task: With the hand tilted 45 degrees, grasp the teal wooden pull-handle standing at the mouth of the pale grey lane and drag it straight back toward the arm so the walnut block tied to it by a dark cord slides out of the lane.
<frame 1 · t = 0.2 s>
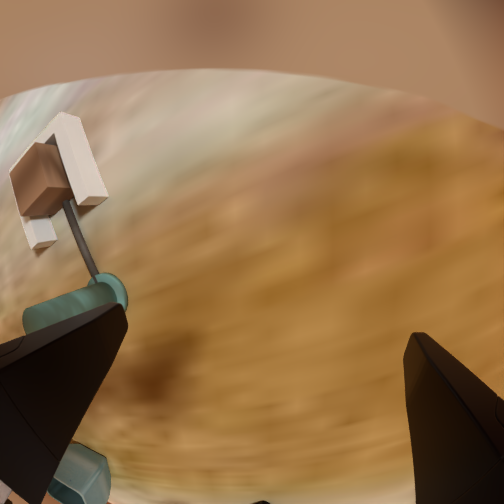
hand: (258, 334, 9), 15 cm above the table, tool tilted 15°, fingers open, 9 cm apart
lane: (61, 181, 27), on the table
flower pot: (96, 459, 33), on the table
tethered block: (61, 181, 27), on the table
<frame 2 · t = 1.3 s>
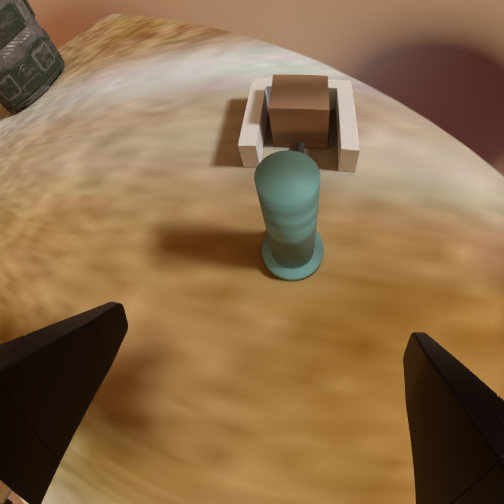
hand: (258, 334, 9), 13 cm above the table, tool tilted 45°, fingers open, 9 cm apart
lane: (301, 128, 28), on the table
canister: (37, 87, 46), on the table
tethered block: (301, 129, 28), on the table
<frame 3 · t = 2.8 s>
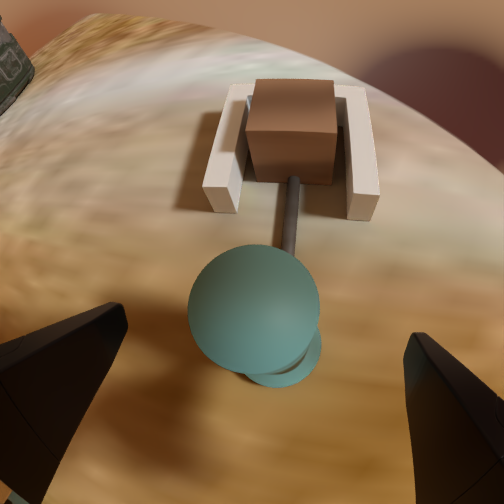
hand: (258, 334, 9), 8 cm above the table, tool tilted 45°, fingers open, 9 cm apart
lane: (296, 154, 21), on the table
flower pot: (12, 495, 13), on the table
canister: (6, 98, 38), on the table
tethered block: (296, 154, 21), on the table
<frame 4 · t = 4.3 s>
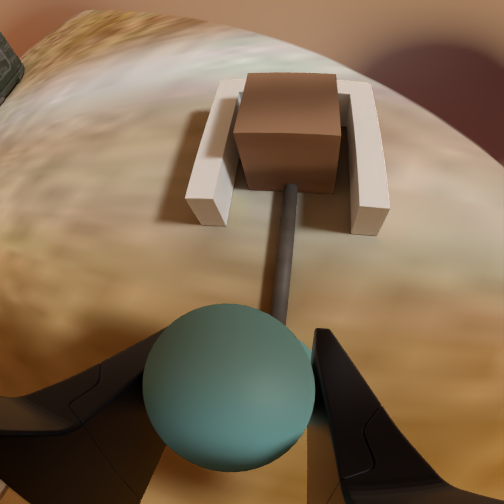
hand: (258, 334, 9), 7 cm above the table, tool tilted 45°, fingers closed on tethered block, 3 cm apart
lane: (293, 158, 19), on the table
tethered block: (293, 158, 19), on the table, touching gripper
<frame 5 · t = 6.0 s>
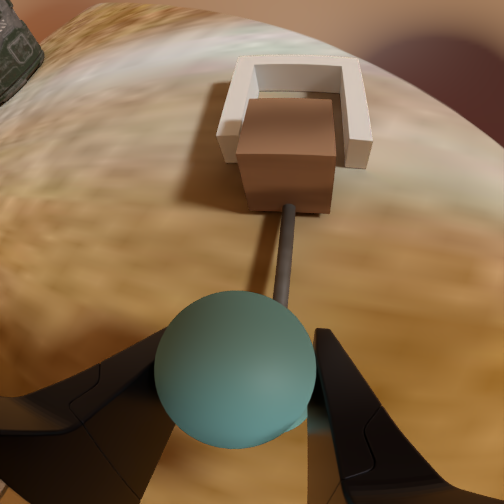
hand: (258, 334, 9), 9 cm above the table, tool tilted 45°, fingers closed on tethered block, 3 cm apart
lane: (298, 115, 23), on the table
canister: (16, 82, 40), on the table
tethered block: (291, 181, 20), on the table, tilted 6°, touching gripper
when the fingers open (7 cm above the table, at t = 7.9 s): tethered block stays where it is, on the table.
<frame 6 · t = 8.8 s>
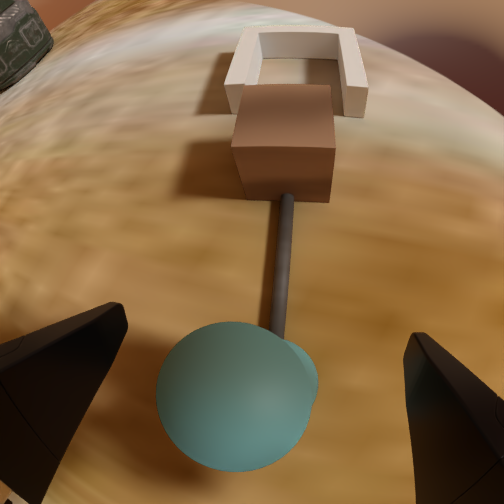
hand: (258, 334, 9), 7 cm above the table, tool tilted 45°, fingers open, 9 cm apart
lane: (299, 76, 23), on the table
canister: (25, 67, 40), on the table
tethered block: (289, 168, 19), on the table
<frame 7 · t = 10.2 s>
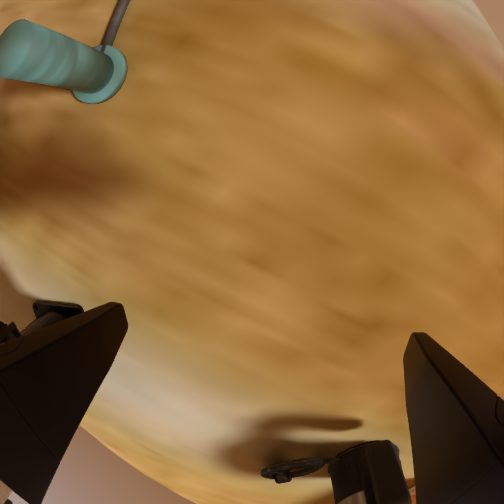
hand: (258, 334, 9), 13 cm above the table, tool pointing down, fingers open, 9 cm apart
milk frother: (333, 459, 30), on the table
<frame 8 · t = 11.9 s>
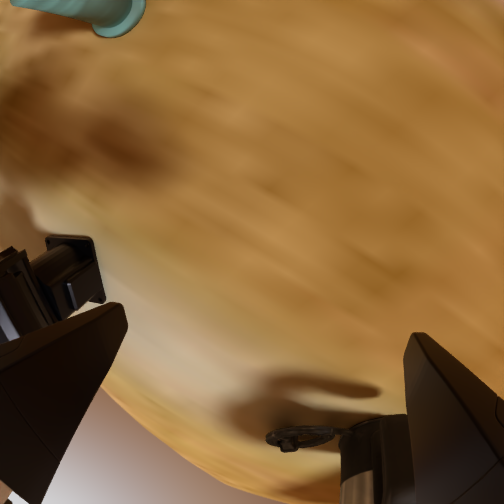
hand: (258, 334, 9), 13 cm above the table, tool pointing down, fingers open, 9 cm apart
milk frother: (346, 432, 29), on the table
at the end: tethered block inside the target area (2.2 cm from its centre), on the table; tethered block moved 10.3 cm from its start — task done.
